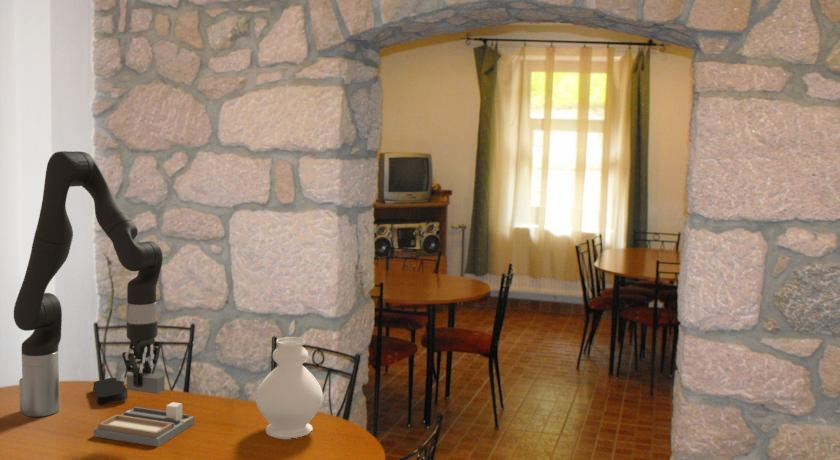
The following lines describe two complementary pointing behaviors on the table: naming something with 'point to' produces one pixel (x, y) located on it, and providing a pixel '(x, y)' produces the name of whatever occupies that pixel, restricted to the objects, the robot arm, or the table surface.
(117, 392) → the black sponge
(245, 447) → the table surface
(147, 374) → the grey block with bolt
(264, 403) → the decorative vase
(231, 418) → the table surface
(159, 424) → the switch board
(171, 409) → the switch tab
